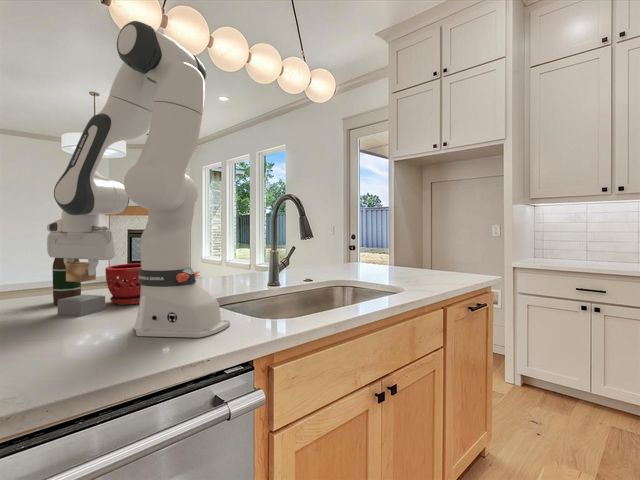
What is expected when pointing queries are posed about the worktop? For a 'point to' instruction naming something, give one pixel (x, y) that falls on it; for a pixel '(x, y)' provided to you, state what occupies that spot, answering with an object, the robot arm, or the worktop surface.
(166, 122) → the robot arm
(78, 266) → the oak cube
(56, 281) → the beer bottle
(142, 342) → the worktop surface
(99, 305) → the block
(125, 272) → the plant pot
